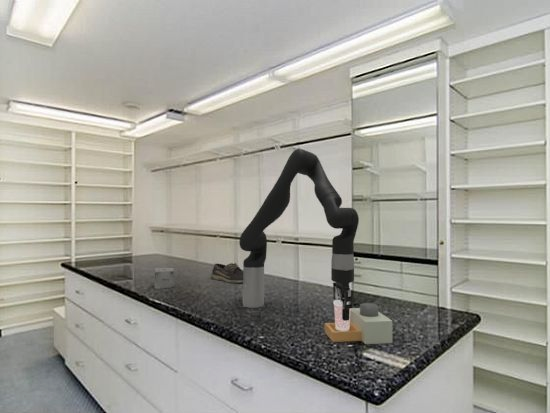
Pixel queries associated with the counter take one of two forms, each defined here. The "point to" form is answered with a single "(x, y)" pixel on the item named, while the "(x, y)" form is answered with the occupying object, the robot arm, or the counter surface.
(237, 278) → the boat shoe
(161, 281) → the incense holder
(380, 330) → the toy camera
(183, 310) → the counter surface
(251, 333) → the counter surface
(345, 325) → the beverage cup
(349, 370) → the counter surface
